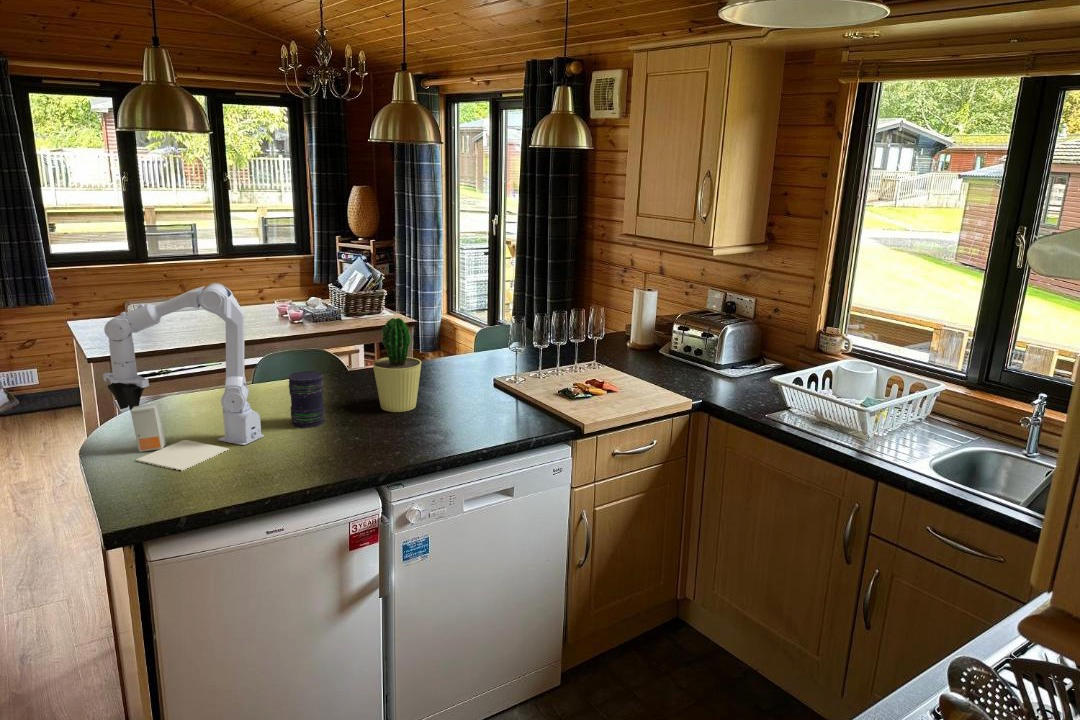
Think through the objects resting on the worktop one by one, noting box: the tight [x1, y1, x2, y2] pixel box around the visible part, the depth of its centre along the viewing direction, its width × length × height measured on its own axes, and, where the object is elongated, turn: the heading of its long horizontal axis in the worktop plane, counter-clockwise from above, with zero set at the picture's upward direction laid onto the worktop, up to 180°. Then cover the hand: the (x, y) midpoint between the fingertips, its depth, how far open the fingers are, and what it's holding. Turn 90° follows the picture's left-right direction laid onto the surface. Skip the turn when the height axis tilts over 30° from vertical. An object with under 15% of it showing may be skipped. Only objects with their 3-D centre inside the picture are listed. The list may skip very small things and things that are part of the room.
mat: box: [135, 439, 230, 472], centre depth 200 cm, size 16×16×1 cm
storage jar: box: [288, 370, 326, 429], centre depth 225 cm, size 10×10×15 cm
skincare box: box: [130, 403, 167, 453], centre depth 202 cm, size 6×4×12 cm
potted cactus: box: [372, 317, 422, 413], centre depth 240 cm, size 15×15×30 cm
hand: (129, 409), depth 204 cm, fingers open, 3 cm apart
